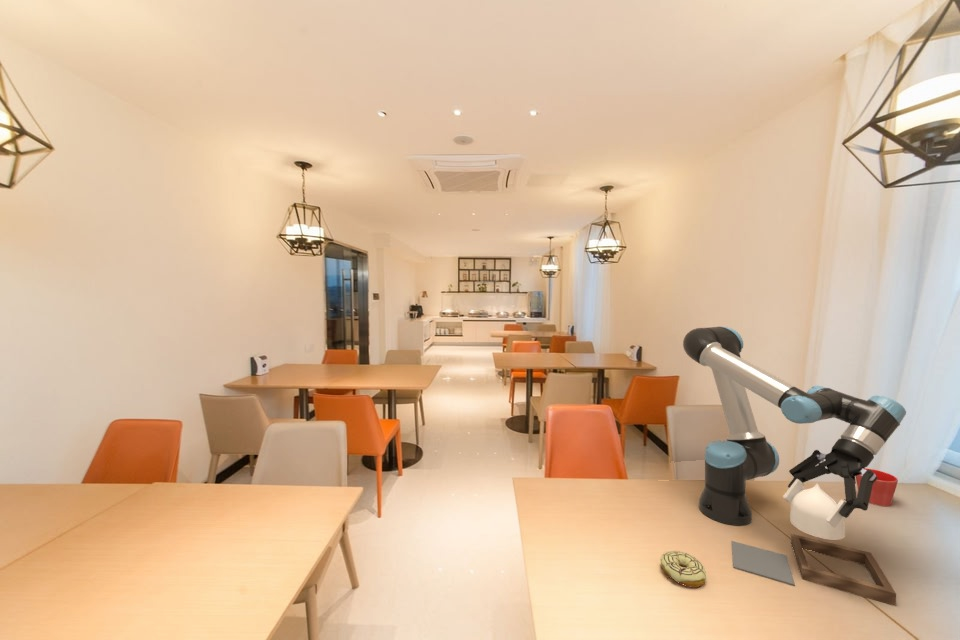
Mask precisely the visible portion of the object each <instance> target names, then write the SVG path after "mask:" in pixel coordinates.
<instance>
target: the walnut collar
mask: <svg viewBox="0 0 960 640" xmlns="http://www.w3.org/2000/svg"><path fill="white" fill-rule="evenodd" d="M791 544H792V545H791ZM790 545H791V547H793V548H792V551H793V550H794V551H793V554H795V555H794V557H796V558H795V561H796V564H797V567H798V570H800V571H799V573H800V576H801V580H803V581H806V582H809V583H810V582H811V583H814V584H818V585H822V586H824V587H828V588H832V589H835V590H837V591H838V590H839V591H841V592H845V593H849V594H852V595H853V594H854V595H856V596H859V597H863V598H867V599H871V600H874V601H877V602H881V603H885V604H887V605H891V606H895V607H896V606H897V593H896V591H895V590H894V587H893V586H892V584H891V583H890V581H889V580H888V578H887V577H886V574H885V573H884V572H883V569H882V568H881V567H880V565H879V563H878V562H877V560H876V558H875V557H874V556H873V554H872V552H869V551H865V550H860V549H857V548H853V547H848V546H844V545H841V544H835V543H833V542H832V543H831V542H827V541H823V540H821V539H820V540H819V539H815V538H811V537H808V536H807V537H806V536H802V535H798V534H793V533H791V534H790ZM802 548H803V549H802ZM805 549H807V550H806V551H808V550H812V551H815V552H814V553H816V552H818V553H817V554H820V553H822V554H821V555H824V554H825V555H826V556H828V555H829V556H830V557H832V558H836V559H840V560H844V559H845V561H849V562H853V563H858V564H861V565H864V566H865V567H866V569H867V570H868V573H869V574H870V576H871V578H872V580H873V581H874V583H871V582H867V581H863V580H861V579H860V580H859V579H856V578H852V577H850V576H845V575H840V574H837V573H833V572H830V571H828V570H827V571H826V570H822V569H819V568H815V567H812V566H809V564H808V561H807V557H806V555H805V552H804V550H805ZM812 551H811V552H812ZM825 555H824V556H825Z"/></svg>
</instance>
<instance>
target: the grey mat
mask: <svg viewBox="0 0 960 640" xmlns="http://www.w3.org/2000/svg"><path fill="white" fill-rule="evenodd" d="M731 552H732V555H733V556H732V567H733V569H736V570H739V571H742V572H746V573H750V574H753V575H756V576H759V577H762V578H766V579H770V580H771V581H772V580H773V581H777V582H778V583H779V582H780V583H784V584H785V585H790V586H793V587H796V584H795V583H796V582H795V579H794V576H793V572H792V568H791V565H790V562H789V559H788V556H787V554H783V553H780V552H776V551H772V550H769V549H764V548H762V547H761V548H760V547H756V546H753V545H750V544H744V543H742V542H739V541H738V542H737V541H735V540H734V541H733V540H731Z"/></svg>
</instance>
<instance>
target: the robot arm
mask: <svg viewBox="0 0 960 640" xmlns="http://www.w3.org/2000/svg"><path fill="white" fill-rule="evenodd" d="M682 342H683V343H682V347H683V350H684V353H685V354H686V355H687V356H688V357H689V358H691V360H693V361H694V362H695V363H698V364H699V365H701V366H703V367H709V368H710V369H711V371H712V375H713V378H714V382H715V385H716V389H717V392H718V395H719V399H720V403H721V406H722V409H723V412H724V416H725V420H726V425H727V427H728V430H729V434H728V435H727V437H726V440H716V441H715V440H714V441H712V442H709V443H708V444H707V445H706V447H705V453H704V487H703V490H702V492H701V495H700V498H699V500H698V508H700V509H699V511H700V510H701V511H702V512H703V513H704V514H703V513H702V512H701V511H700V512H701V513H702V514H703V515H704V516H706V515H707V516H706V517H708V518H709V517H710V518H709V519H711V518H712V520H713V519H714V521H716V522H720V523H722V524H725V523H726V525H732V526H745V525H749V524H750V523H751V522H752V520H753V519H752V509H751V506H750V504H749V502H748V499H747V495H746V490H747V489H746V488H747V487H746V484H747V483H746V481H748V480H753V479H756V478H757V479H758V478H761V477H766V476H768V475H770V474H772V473H774V472H775V471H776V470H777V469H778V467H779V465H780V456H779V453H778V451H777V449H776V447H775V446H774V445H772V444H771V443H770V442H769V441H767V439H766V435H765V434H764V433H762V432H760V431H759V429H758V426H757V424H756V423H757V422H756V419H755V416H754V414H753V413H754V412H753V410H752V406H751V403H750V399H749V397H748V396H749V395H748V393H747V389H748V391H751V392H752V393H754V394H756V395H758V396H759V397H761V398H762V399H764V400H766V401H767V402H769V403H770V404H773V405H775V406H776V407H778V408H780V410H781V413H782V414H783V416H784V417H785V418H786V419H787V420H788V421H790V422H791V423H795V424H799V425H800V424H803V425H804V424H813V423H815V422H820V421H823V420H829V419H837V420H840V421H842V422H845V423H848V424H849V425H848V426H847V428H846V429H845V430H844V431H843V433H842V434H841V435H840V438H838V439H837V440H836V442H835V443H834V445H833V446H832V447H831V450H830V452H829V453H827V454H826V453H823V452H820V451H819V449H815V450H813V452H812V454H811V455H810V456H808V457H807V458H805V459H803V460H802V461H801V462H799V463H798V464H797V465H795V466H794V467H792V468H791V469H789V471H788V472H789V474H791V476H792V477H793V478H792V479H791V482H789V483H788V485H787V488H788V489H787V491H786V492H785V493H784V494H783V495H782V497H783V499H784V500H785V501H786V502H787V503H789V504H790V505H791V502H792V500H793V498H794V497H795V495H797V494H798V493H799V492H801V491H802V490H804V488H805V486H806V485H805V484H804V483H806V482H808V481H811V480H813V479H816V478H818V477H821V476H824V475H830V474H834V475H836V476H839V477H841V478H843V482H844V483H843V484H844V494H845V495H844V496H845V498H844V499H840V500H839V501H838V503H837V506H836V507H835V508H834V510H833V511H832V512H831V513H830V515H829V516H828V517H827V519H826V521H827V522H828V523H829V524H830V525H831V526H833V527H834V528H835V527H836V526H837V524H838V523H839V522H840V521H841V519H842V518H843V517H844V519H845V518H846V519H847V518H848V517H850V515H851V514H852V513H853V511H854V510H855V509H859V510H862V511H867V510H868V508H869V505H870V503H869V500H870V495H871V491H872V486H873V483H874V482H875V481H876V480H877V478H878V477H877V476H876V475H875V474H874V473H873V472H872V471H871V470H865V468H867V467H868V466H869V465H870V464H871V462H872V461H873V460H874V457H875V456H876V455H877V454H878V453H879V452H880V451H881V449H882V447H884V445H885V444H886V443H887V441H888V440H889V438H890V437H891V436H892V435H893V433H895V431H896V430H897V429H898V428H899V427H900V426H901V422H902V421H903V420H904V417H905V416H906V415H907V411H906V409H905V407H904V406H903V405H902V404H901V403H900V402H897V401H896V400H894V399H892V398H889V397H886V396H884V395H881V396H880V395H872V396H871V397H869V398H868V399H867V400H865V399H861V398H859V397H855V396H853V395H849V394H847V393H843V392H840V391H838V390H835V389H832V388H830V387H825V386H822V385H812V386H811V387H810V388H809V389H807V391H804V390H802V389H800V388H798V387H796V386H794V385H792V384H791V383H789V382H787V381H785V380H783V379H781V378H780V377H777V376H776V375H774V374H772V373H770V372H768V371H767V370H764V369H762V368H760V367H759V366H757V365H755V364H754V363H751V362H750V361H748V360H746V359H744V358H742V357H741V352H743V351H742V350H743V349H744V341H743V337H742V336H741V335H740V333H739V332H738V331H736V330H735V329H733V328H731V327H728V326H713V327H697V328H694V329H691V330H690V331H689V332H687V334H686V335H685V336H684V338H683V340H682ZM860 474H862V478H861V482H860V486H859V490H858V489H857V491H856V485H857V482H856V476H857V475H860Z"/></svg>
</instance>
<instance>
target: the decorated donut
mask: <svg viewBox="0 0 960 640" xmlns="http://www.w3.org/2000/svg"><path fill="white" fill-rule="evenodd" d="M660 564H661V565H660V566H661V567H662V570H663V571H664V573H665V574H666V576H667V577H669V578H670V577H671V578H672V580H673V579H674V580H673V581H674V582H677V583H678V582H679V583H678V584H680V583H681V584H684V585H686V586H685V587H687V586H691V587H690V588H693V587H698V588H699V586H701V587H702V586H703V584H705V582H706V580H707V571H706V568H705V566H704V565H703V563H702V562H701V561H700V560H699V559H697V558H696V557H695V556H693V555H691V554H690V553H687V552H684V551H680V550H679V551H678V550H671V551H665V552H663V553H662V554H661V556H660ZM671 578H670V579H671ZM681 584H680V585H681ZM684 585H683V586H684Z"/></svg>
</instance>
